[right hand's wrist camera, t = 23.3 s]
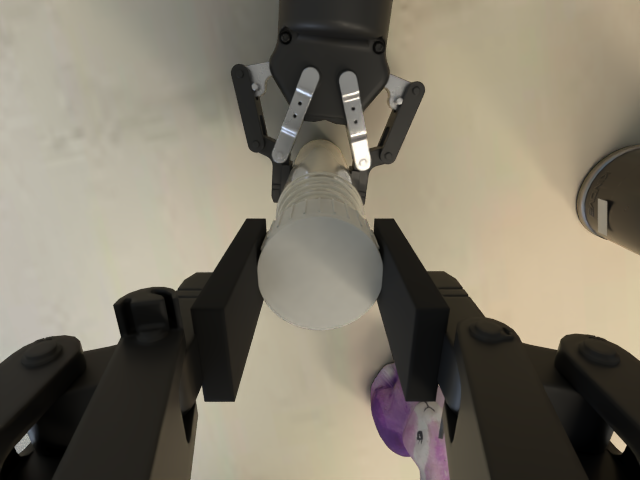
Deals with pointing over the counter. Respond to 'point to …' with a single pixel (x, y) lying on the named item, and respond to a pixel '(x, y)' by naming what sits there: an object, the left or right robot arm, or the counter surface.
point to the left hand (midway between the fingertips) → (316, 209)
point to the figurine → (409, 425)
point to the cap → (320, 265)
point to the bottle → (320, 178)
